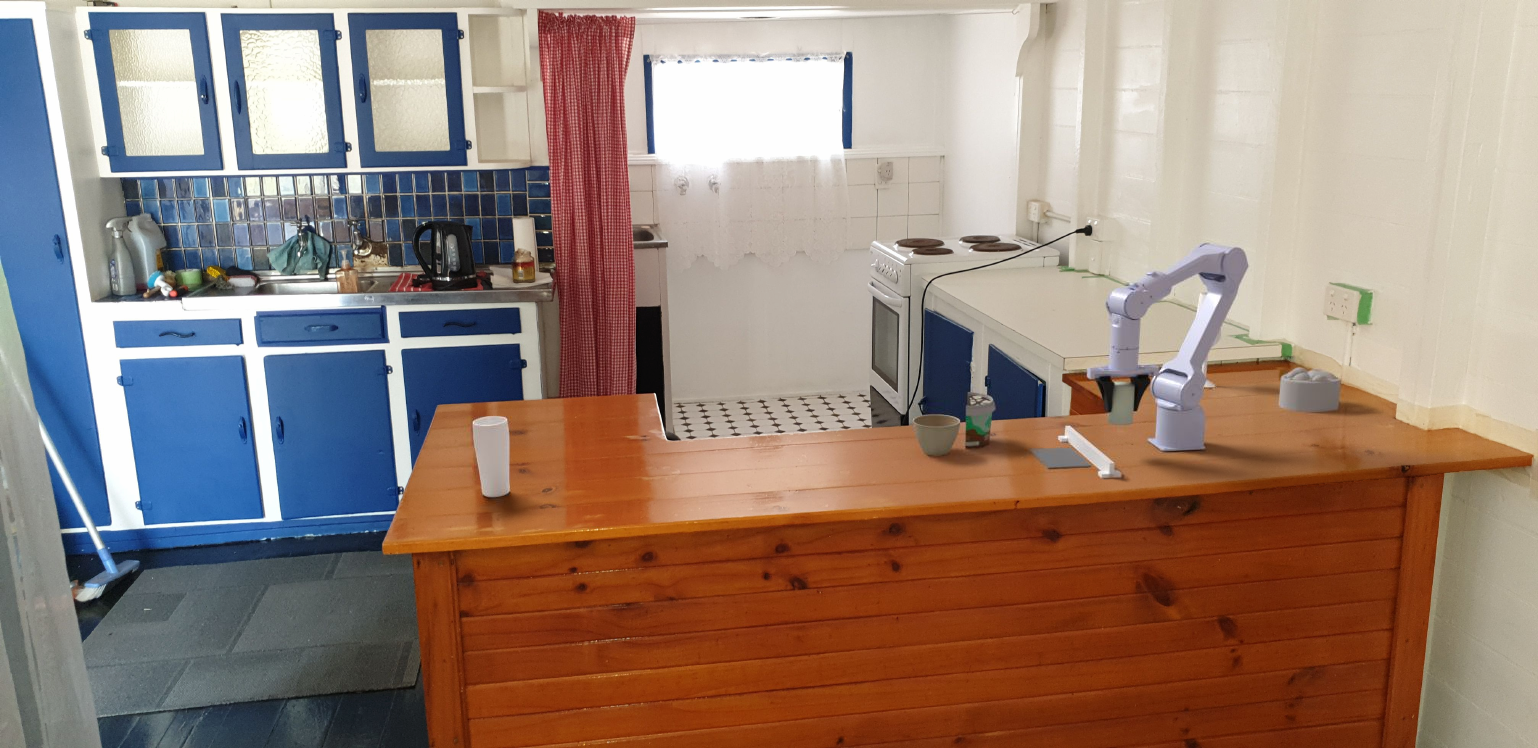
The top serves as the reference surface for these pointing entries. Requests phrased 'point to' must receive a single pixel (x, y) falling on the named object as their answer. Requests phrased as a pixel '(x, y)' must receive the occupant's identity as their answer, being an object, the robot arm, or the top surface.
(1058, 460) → the mat
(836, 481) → the top surface
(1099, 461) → the low wall
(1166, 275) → the robot arm
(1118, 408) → the green cylinder
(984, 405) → the food container
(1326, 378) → the lumpy-topped squat cylinder
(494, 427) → the drinking glass
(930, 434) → the flower pot
